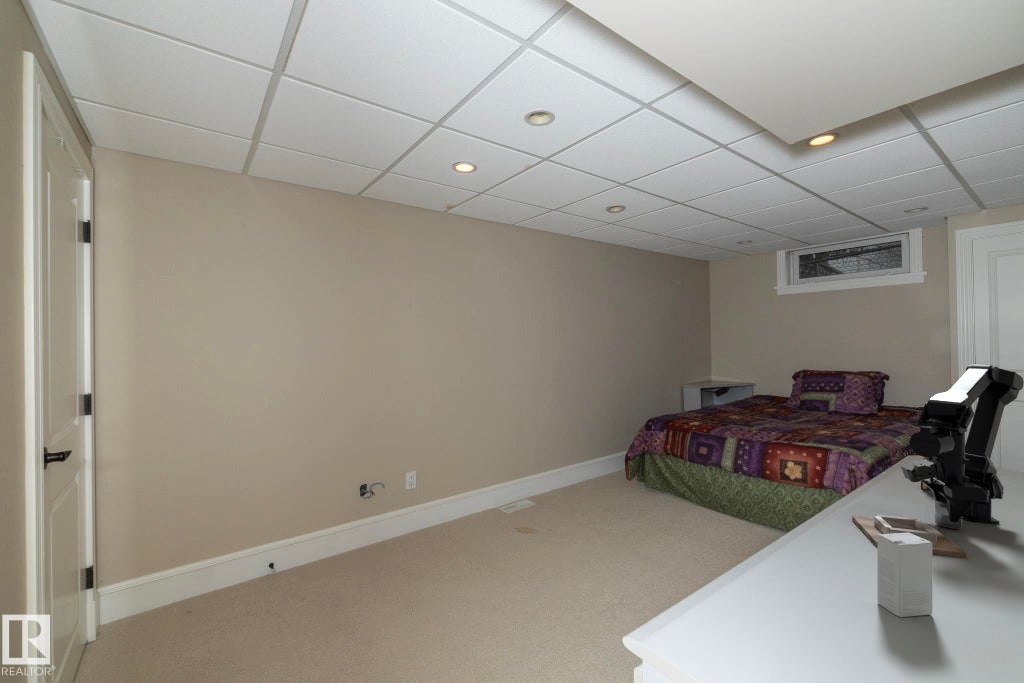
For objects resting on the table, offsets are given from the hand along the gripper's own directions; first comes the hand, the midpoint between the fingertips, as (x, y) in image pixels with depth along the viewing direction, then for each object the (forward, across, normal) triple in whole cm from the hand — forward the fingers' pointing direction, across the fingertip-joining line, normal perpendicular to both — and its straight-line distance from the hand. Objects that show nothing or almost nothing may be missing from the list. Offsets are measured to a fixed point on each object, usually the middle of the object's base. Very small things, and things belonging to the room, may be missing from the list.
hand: (948, 518), depth 106 cm
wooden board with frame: (+2, +10, -12) cm, 16 cm away
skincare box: (+2, +43, -24) cm, 49 cm away
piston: (+2, 0, 0) cm, 2 cm away
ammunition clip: (+2, -34, +11) cm, 36 cm away
